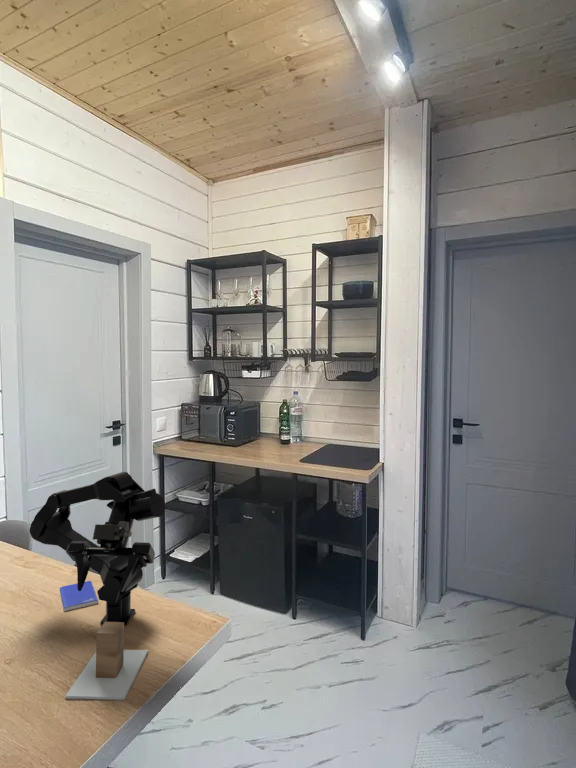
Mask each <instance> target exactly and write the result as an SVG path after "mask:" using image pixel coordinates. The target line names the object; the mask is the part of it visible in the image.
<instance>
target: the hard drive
mask: <svg viewBox="0 0 576 768" xmlns="http://www.w3.org/2000/svg"><path fill="white" fill-rule="evenodd" d="M59 594H60V600H61V603H62V609H63V612H67V611H71V610H76V609H79V608H84V607H88V606H93V605H98V604H99V597H98V595H97V593H96V590H95V587H94V585H93V582H92V580H87V581H86V580H85V583H84V586H83V588H82V590H81V591H78V585H77V583H74V584H69V585H62V586H60V587H59Z"/></svg>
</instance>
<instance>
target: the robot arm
mask: <svg viewBox="0 0 576 768" xmlns="http://www.w3.org/2000/svg"><path fill="white" fill-rule="evenodd" d="M156 489H157V488H151V489H149V490H144V488H143V487H142V486H140V485H139V484H138V483H137V482H136V481H135V479H133V477H132V476H131V474H129V472H127V471H121V472H118V473H115V474H111V475H107V476H106V477H103V478H101V479H99V480H97V481H96V482H94V483H93V484H88V485H84V486H80V487H76V488H72V489H64V490H63V489H62V490H61V491H57V492H54V493H52V494H51V495H49V496H48V498H47V499H46V502H45V504H43V506H42V507H41V508H40V510H38V512H36V514H35V516H34V517H33V520H32V521H31V523H30V527H29V534H30V536H31V538H32V539H33V540H34V541H36V542H39V543H41V544H43V545H48V546H57V547H59V548H61V549H62V550H64V552H65V553H66V554H67V555H68V556H69V558H70V559H71V560H72V561H73V562H74V563H76V570H77V571H76V572H77V580H76V581H77V583H76V584H77V585H78V591H81V590H82V588H83V586H84V583H85V582H86V580H87V577H88V574H89V571H90V570H91V569H92V570H93V571H95V572H96V573H98V574H99V576H100V579H101V582H102V586H101V587H100V588H99V589H98V590H97V593H96V594H97V598H98V601H104V602H105V615H104V616H103V618H102V619H101V620H100V622H99V624H100V625H101V626H102V625H103V624H104V622H124V626H127V625H128V624H129V622H130V621H131V618H132V617H133V615H134V614H135V613H136V609H135V608H131V603H132V601H131V600H132V599H131V596H132V591H133V590H134V589H137V588H138V586H139V583H141V581H142V579H143V576H144V575H143V573H144V572H143V569H142V568H146V567H147V565H148V564H149V565H150V564H153V563H154V562H155V561H154V560H155V555H156V554H155V553H156V552H155V550H154V547H152V544H151V543H150V542H137V541H135V542H133V544H132V547H127V545H128V544H129V543H128V542H129V539H130V538H131V536H132V534H133V533H132V528H133V524H134V522H135V521H137V522H141V521H142V522H143V521H148V520H153V519H156V518H161V517H162V516H163V514H164V512H165V510H166V509H165V508H166V504H165V499H164V498H163V497H162V495H161V494H160V493H158V492H157V490H156ZM91 500H99V501H108V503H107V504H106V507H107V508H108V509H110V510H111V511H110V515H109V518H108V521H105V522H104V524H97V523H96V524H95V525H94V530H93V536H92V540H96V543H94V542H93V541H91V540H90V539H88V538H87V537H85V536H84V535H82V534H80V533H79V532H77V531H76V530H74V528H73V526H72V523H71V521H70V519H69V518H70V516H71V505H73V504H75V505H76V504H79V503H83V502H86V501H87V502H88V501H91ZM97 544H98V545H97Z"/></svg>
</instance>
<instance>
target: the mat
mask: <svg viewBox="0 0 576 768" xmlns="http://www.w3.org/2000/svg"><path fill="white" fill-rule="evenodd" d="M148 653H149V650H148V649H124V659H123V666H122V668H121V670H120V672H119V674H118V675H117V677H116V678H96V651H95V652H94V653H93V655H92V656H91V658H90V659H89V661H88V663H87V664H86V666H85V667H84V668H83V670H82V671H81V673H80V674H79V675H78V676H77V678H76V679H75V682H74V683H73V684H72V686H71V687H70V689H69V690H68V691H67V693H66V694H65V699H70V700H72V699H73V700H109V701H110V700H115V701H117V700H118V701H125V699H126V697H127V695H128V693H129V691H130V689H131V687H132V685H133V683H134V681H135V679H136V677H137V675H138V673H139V672H140V669H141V667H142V665H143V662H144V661H145V659H146V658H147V655H148Z"/></svg>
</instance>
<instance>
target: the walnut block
mask: <svg viewBox="0 0 576 768" xmlns="http://www.w3.org/2000/svg"><path fill="white" fill-rule="evenodd" d="M95 639H96V641H95V642H96V643H95V644H96V645H95V646H96V647H95V652H96V678H116V677H117V675H118V674H119V672H120V670H121V668H122V666H123V659H124V650H125V649H124V645H125V643H124V642H125V625H124V622H104V624H103V625H102V624H101V626H100V628H99V629H98V631H96V637H95Z"/></svg>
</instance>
